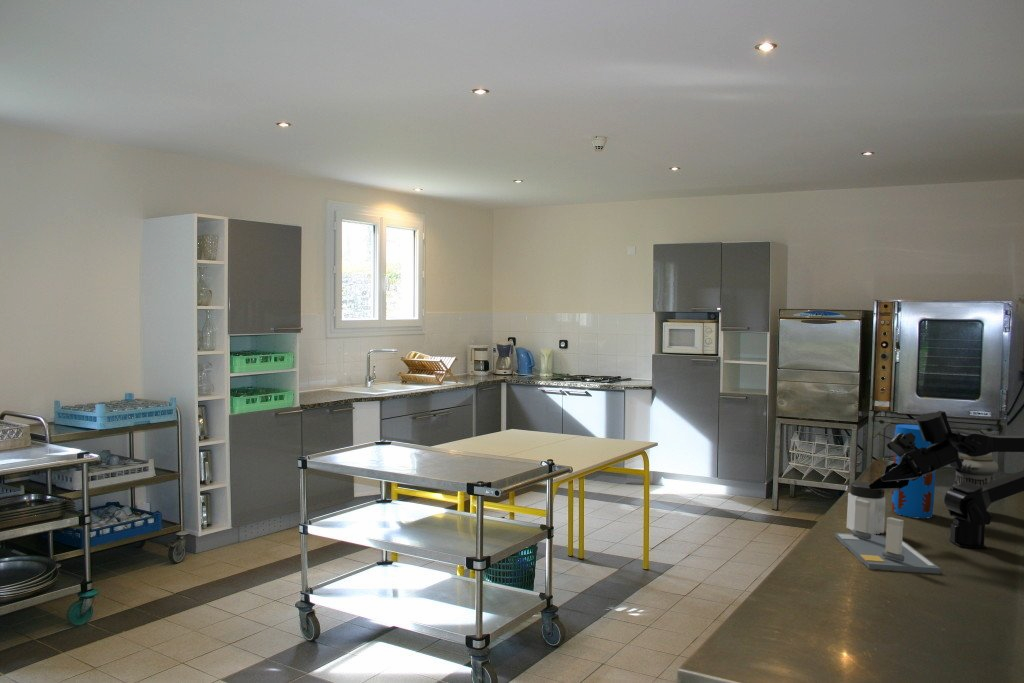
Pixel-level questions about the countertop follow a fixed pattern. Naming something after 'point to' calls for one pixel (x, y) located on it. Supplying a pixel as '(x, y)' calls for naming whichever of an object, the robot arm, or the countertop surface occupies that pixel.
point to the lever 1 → (862, 519)
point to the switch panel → (873, 558)
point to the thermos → (914, 484)
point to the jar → (876, 507)
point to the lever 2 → (894, 539)
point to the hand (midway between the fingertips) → (875, 483)
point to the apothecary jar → (976, 470)
